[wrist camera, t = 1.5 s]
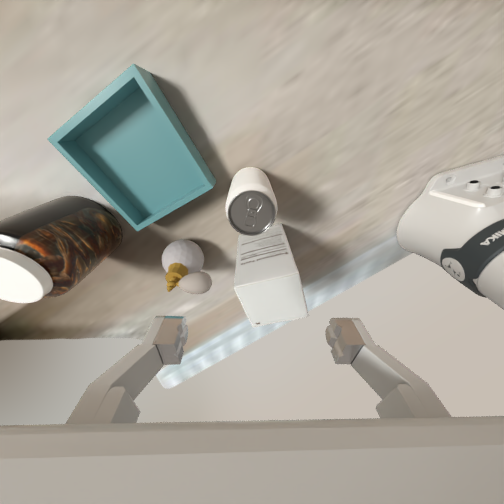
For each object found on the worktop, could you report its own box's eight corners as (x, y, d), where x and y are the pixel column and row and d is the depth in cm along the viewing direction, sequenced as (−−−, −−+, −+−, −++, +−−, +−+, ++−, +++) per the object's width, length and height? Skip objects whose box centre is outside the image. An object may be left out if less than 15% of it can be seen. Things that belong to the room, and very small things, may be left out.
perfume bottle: (161, 242, 38) (130, 285, 28) (201, 221, 36) (184, 259, 26) (185, 269, 42) (165, 314, 32) (223, 251, 39) (215, 294, 29)
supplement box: (291, 259, 41) (310, 318, 28) (250, 269, 42) (251, 329, 30) (282, 221, 36) (301, 273, 23) (237, 234, 37) (232, 289, 25)
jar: (85, 183, 32) (-21, 222, 19) (135, 240, 38) (79, 297, 25) (35, 210, 34) (-89, 260, 21) (90, 259, 40) (17, 321, 27)
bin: (149, 72, 24) (133, 63, 21) (216, 181, 32) (212, 188, 28) (72, 137, 28) (47, 139, 24) (148, 221, 35) (137, 231, 32)
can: (273, 170, 31) (286, 192, 21) (265, 208, 34) (272, 242, 24) (234, 162, 30) (227, 181, 20) (229, 202, 34) (221, 234, 24)
